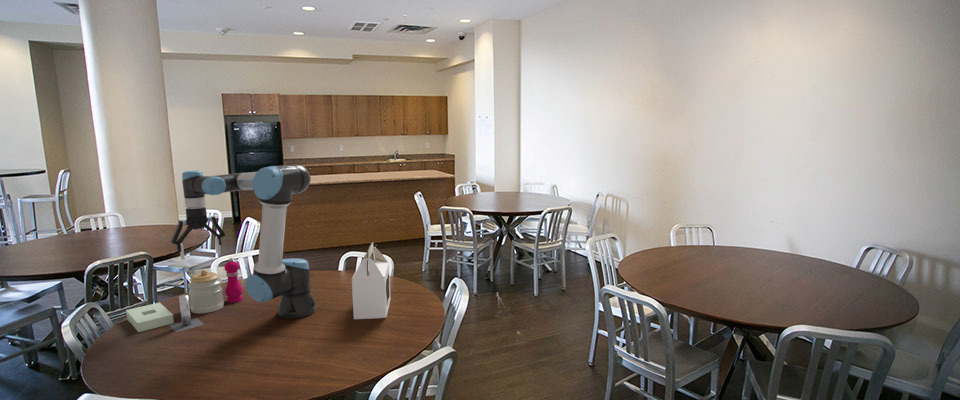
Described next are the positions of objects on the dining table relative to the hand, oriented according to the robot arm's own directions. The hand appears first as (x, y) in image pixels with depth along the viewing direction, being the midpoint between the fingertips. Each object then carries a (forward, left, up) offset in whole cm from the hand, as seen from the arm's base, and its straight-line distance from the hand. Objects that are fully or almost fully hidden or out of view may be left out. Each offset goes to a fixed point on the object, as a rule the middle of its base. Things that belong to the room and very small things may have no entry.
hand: (200, 256), depth 210 cm
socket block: (+1, +21, -24) cm, 31 cm away
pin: (-15, +12, -23) cm, 30 cm away
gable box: (-55, -49, -24) cm, 77 cm away
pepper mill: (+1, -12, -24) cm, 27 cm away
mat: (-15, +12, -24) cm, 30 cm away
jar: (-1, 0, -24) cm, 24 cm away
